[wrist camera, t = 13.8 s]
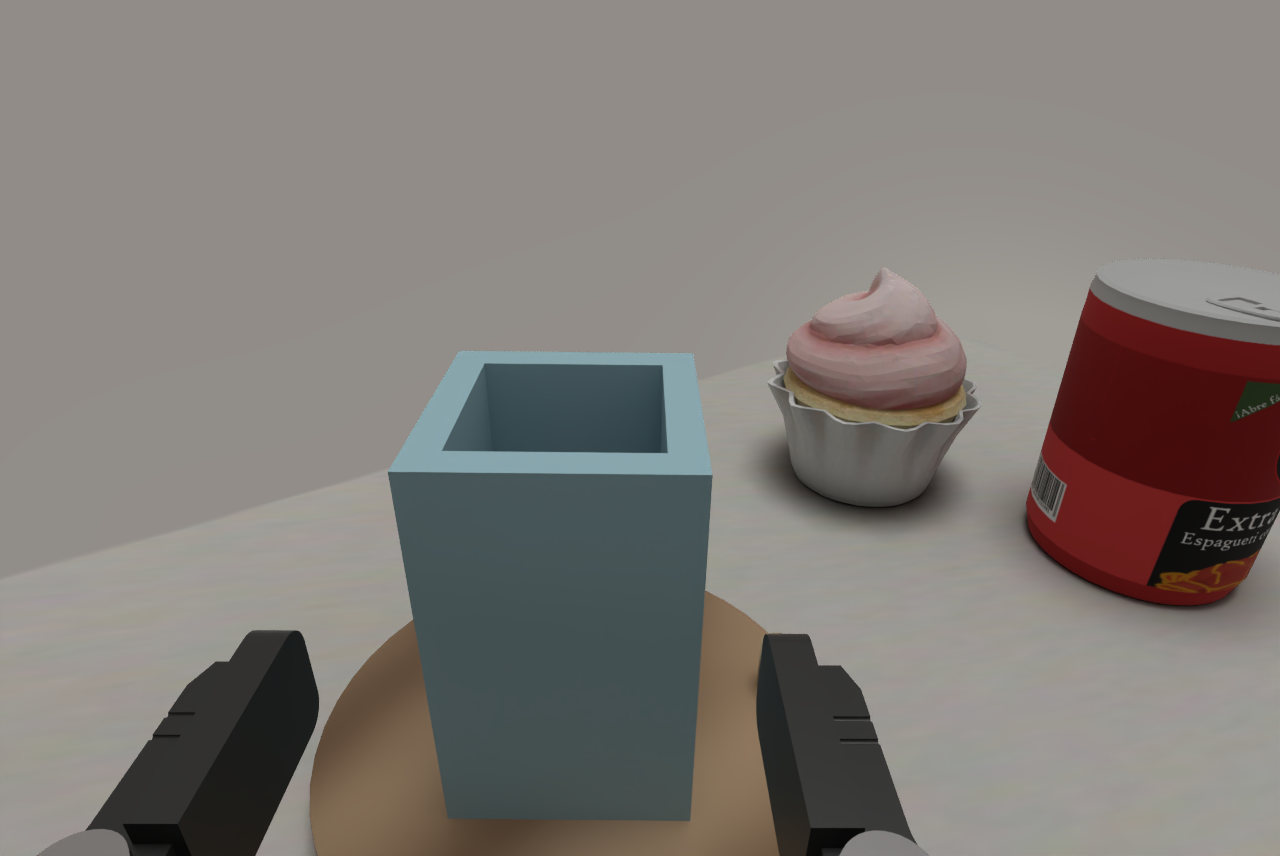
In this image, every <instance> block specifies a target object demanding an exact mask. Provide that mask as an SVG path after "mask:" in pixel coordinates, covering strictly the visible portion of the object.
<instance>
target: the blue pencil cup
mask: <svg viewBox="0 0 1280 856" xmlns="http://www.w3.org/2000/svg"><path fill="white" fill-rule="evenodd" d="M388 475H389V481H390V487H391V492H392V498H393V504H394V510H395V516H396V521H397V527H398V533H399V539H400V545H401V550H402V556H403V562H404V568H405V573H406V579H407V585H408V591H409V597H410V602H411V608H412V614H413V620H414V626H415V631H416V637H417V643H418V649H419V654H420V660H421V666H422V672H423V678H424V683H425V689H426V695H427V701H428V707H429V712H430V718H431V724H432V730H433V736H434V741H435V747H436V753H437V759H438V764H439V770H440V776H441V782H442V788H443V793H444V799H445V805H446V811H447V817H448V819H542V820H646V821H690V817H691V802H692V786H693V770H694V755H695V739H696V723H697V708H698V692H699V677H700V661H701V645H702V630H703V614H704V598H705V583H706V567H707V551H708V536H709V520H710V504H711V489H712V470H711V463H710V457H709V451H708V444H707V438H706V432H705V425H704V419H703V413H702V407H701V400H700V394H699V388H698V381H697V376H696V369H695V363H694V357H693V353H603V352H602V353H601V352H506V351H505V352H504V351H502V352H501V351H459V352H458V354H457V356H456V357H455V359H454V361H453V362H452V364H451V366H450V368H449V369H448V371H447V373H446V374H445V376H444V378H443V379H442V381H441V383H440V384H439V386H438V388H437V390H436V391H435V393H434V395H433V396H432V398H431V400H430V401H429V403H428V405H427V406H426V408H425V410H424V412H423V413H422V415H421V417H420V418H419V420H418V422H417V424H416V425H415V427H414V428H413V430H412V432H411V434H410V435H409V437H408V439H407V440H406V442H405V444H404V446H403V447H402V449H401V451H400V452H399V454H398V456H397V457H396V459H395V461H394V462H393V464H392V466H391V467H390V469H389V471H388Z"/></svg>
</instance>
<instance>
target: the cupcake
mask: <svg viewBox="0 0 1280 856" xmlns="http://www.w3.org/2000/svg"><path fill="white" fill-rule="evenodd" d="M786 354H787V359H784V360H777V361H774V362H773V366H774V368H775V371H776V374H777V375H776V376H774V377H773V378H771V379H769V381H768V382H767V383H768V385H769V387H770V389H771V391H772V393H773V395H774V397H775V399H776V402H777V404H778V406H779V408H780V410H781V412H782V414H783V417H784V422H785V427H786V433H787V438H788V444H789V452H790V459H791V464H792V467H793V469H794V471H795V473H796V475H797V476H798V478H799V480H800V481H801V482H803V483H804V484H805V485H806V486H808V487H809V488H810V489H812V490H814V491H815V492H817V493H819V494H821V495H822V496H825V497H828V498H830V499H833V500H836V501H839V502H843V503H847V504H852V505H857V506H868V507H885V506H895V505H899V504H902V503H906V502H908V501H910V500H913V499H914V498H916V497H918V496H919V495H920V494H921V493H922V492H923V491H924V490H925V489H926V487H927V486H928V484H929V483H930V481H931V479H932V477H933V475H934V473H935V471H936V469H937V467H938V466H939V464H940V462H941V460H942V459H943V457H944V455H945V454H946V452H947V451H948V449H949V447H950V446H951V444H952V442H953V441H954V439H955V437H956V436H957V435H958V433H959V432H960V431H961V430H962V429H963V427H964V426H965V425H966V424H967V423H968V421H969V420H970V419H971V418H972V417H973V415H974V414H975V413H976V412H977V410H978V409H979V408H980V407H981V406H982V404H981V400H979V399H978V398H976V397H975V396H974V395H972V394H973V392H974V391H975V389H976V388H977V383H975V382H973V381H971V380H969V379H967V378H964V377H965V372H966V356H965V353H964V350H963V348H962V345H961V343H960V340H959V338H958V337H957V336H956V335H955V333H954V332H953V331H952V329H951V328H950V327H949V326H948V325H947V324H946V323H945V322H944V321H943V320H941V319H940V318H939V317H937V316H936V315H935V312H934V310H933V309H932V307H931V305H930V303H929V302H928V300H927V299H926V297H925V296H924V295H923V294H922V293H921V292H920V291H919V290H918V289H917V288H916V287H915V286H914V285H912V284H910V283H909V282H907V281H906V280H904V279H903V278H901V277H899V276H898V275H896V274H894V273H892V272H891V271H890V270H888V269H887V268H881V270H880V271H879V272H878V274H877V275H876V277H875V278H874V280H873V282H872V284H871V287H870V289H869V291H864V292H859V293H853V294H849V295H845V296H843V297H840V298H839V299H836V300H834V301H833V302H831V303H829V304H828V305H826V306H824V307H822V308H821V309H819V310H818V311H817V312H816V314H815V315H814V316H813V318H812V320H811V321H810V322H808V323H806V324H804V325H802V326H801V327H799V328H798V329H797V330H796V331H795V332H793V334H792V335H791V336H790V338H789V341H788V345H787V352H786Z"/></svg>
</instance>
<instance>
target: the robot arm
mask: <svg viewBox="0 0 1280 856" xmlns="http://www.w3.org/2000/svg"><path fill="white" fill-rule="evenodd" d="M318 711H319V694H318V690H317V686H316V682H315V679H314V675H313V671H312V667H311V663H310V660H309V656H308V652H307V648H306V645H305V641H304V638H303V636H302V634H301V633H300V632H299V631H281V630H254V631H251V632H250V633H248V634H247V635H246V637H245V638H244V639H243V641H242V642H241V644H240V645H239V647H238V648H237V650H236V651H235V653H234V655H233V656H232V658H231V659H230V661H229V662H215V663H214V664H212V665H211V666H210V667H209V668H208V669H206V670H205V671H204V672H203V673H201V674H200V675H199V676H198V677H197V678H195V679H194V680H193V681H192V682H190V683H189V684H188V685H187V686H186V688H185V689H184V691H183V692H182V693H181V695H180V696H179V698H178V699H177V701H176V702H175V703H174V705H173V706H172V708H171V709H170V711H169V712H168V717H167V718H164V719H163V721H162V722H161V724H160V725H159V726H158V728H157V729H156V731H155V732H154V734H153V738H152V740H149V741H148V742H147V744H146V745H145V746H144V748H143V749H142V751H141V752H140V754H139V755H138V757H137V758H136V759H135V761H134V762H133V764H132V765H131V767H130V768H129V769H128V771H127V772H126V774H125V775H124V777H123V778H122V779H121V781H120V782H119V784H118V785H117V787H116V788H115V790H114V791H113V792H112V794H111V795H110V797H109V798H108V800H107V801H106V802H105V804H104V805H103V807H102V808H101V810H100V811H99V812H98V814H97V815H96V817H95V818H94V820H93V821H92V823H91V824H90V825H89V826H88V828H87V829H86V830H85V831H83V832H80V833H76V834H73V835H71V836H69V837H66V838H64V839H62V840H60V841H58V842H56V843H54V844H53V845H51V846H49V847H48V848H46V849H45V850H43V851H42V852H41V853H39V854H38V855H37V856H255V855H256V853H257V851H258V849H259V847H260V844H261V842H262V840H263V838H264V836H265V834H266V832H267V829H268V827H269V825H270V823H271V821H272V819H273V817H274V815H275V812H276V810H277V808H278V806H279V804H280V802H281V800H282V797H283V795H284V793H285V791H286V789H287V787H288V785H289V782H290V780H291V778H292V776H293V774H294V772H295V770H296V767H297V765H298V763H299V761H300V759H301V757H302V755H303V753H304V750H305V748H306V746H307V744H308V742H309V740H310V738H311V735H312V733H313V731H314V728H315V725H316V722H317V717H318ZM756 718H757V729H758V736H759V742H760V748H761V753H762V759H763V765H764V770H765V776H766V782H767V788H768V793H769V799H770V805H771V810H772V816H773V822H774V827H775V833H776V839H777V845H778V850H779V856H929V855H928V854H927V853H926V852H925V851H924V850H923V849H922V848H920V847H919V846H918V845H917V843H916V842H915V840H914V838H913V836H912V834H911V832H910V830H909V827H908V824H907V821H906V818H905V816H904V813H903V810H902V807H901V804H900V801H899V798H898V795H897V792H896V790H895V787H894V784H893V781H892V778H891V775H890V772H889V769H888V766H887V764H886V761H885V758H884V755H883V752H882V749H881V746H880V745H879V744H878V738H877V735H876V732H875V729H874V726H873V723H872V722H871V721H870V714H869V712H868V709H867V706H866V703H865V700H864V697H863V694H862V691H861V689H860V688H859V687H858V685H857V684H856V683H855V682H854V681H853V680H852V678H851V677H850V676H849V675H848V674H847V673H846V671H845V670H844V669H843V668H842V667H841V666H818V663H817V660H816V656H815V653H814V649H813V646H812V643H811V640H810V637H809V636H808V635H807V634H765V635H764V638H763V644H762V653H761V661H760V670H759V679H758V688H757V697H756Z"/></svg>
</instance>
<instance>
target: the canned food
mask: <svg viewBox="0 0 1280 856" xmlns="http://www.w3.org/2000/svg"><path fill="white" fill-rule="evenodd" d="M1026 507H1027V520H1028V526H1029V530H1030V532H1031V533H1032V535H1033V537H1034V539H1035V540H1036V541H1037V543H1038V544H1039V545H1040V546H1041V547H1042V549H1043V550H1044V551H1046V552H1047V553H1048V554H1049V555H1050V556H1051V557H1052V558H1054V559H1055V560H1056V561H1057V562H1058V563H1060V564H1061V565H1063V566H1064V567H1066V568H1067V569H1069V570H1070V571H1072V572H1073V573H1075V574H1077V575H1079V576H1081V577H1082V578H1084V579H1086V580H1088V581H1090V582H1092V583H1094V584H1097V585H1099V586H1101V587H1104V588H1106V589H1108V590H1111V591H1114V592H1117V593H1120V594H1123V595H1126V596H1129V597H1132V598H1136V599H1140V600H1145V601H1149V602H1153V603H1161V604H1169V605H1200V604H1207V603H1212V602H1214V601H1217V600H1219V599H1222V598H1224V597H1225V596H1226V595H1227V594H1228V593H1229V592H1231V591H1232V590H1233V589H1234V588H1235V587H1236V586H1238V585H1239V584H1240V583H1241V582H1242V581H1243V580H1244V579H1245V578H1246V577H1247V575H1248V573H1249V571H1250V569H1251V567H1252V565H1253V563H1254V561H1255V559H1256V557H1257V555H1258V553H1259V551H1260V549H1261V547H1262V545H1263V543H1264V541H1265V539H1266V537H1267V535H1268V533H1269V531H1270V529H1271V527H1272V525H1273V523H1274V521H1275V519H1276V517H1277V515H1278V513H1279V511H1280V275H1278V274H1274V273H1269V272H1264V271H1259V270H1254V269H1249V268H1242V267H1236V266H1230V265H1223V264H1215V263H1208V262H1198V261H1187V260H1173V259H1132V260H1124V261H1117V262H1112V263H1110V264H1106V265H1103V266H1101V267H1100V268H1098V269H1097V272H1096V276H1095V278H1094V280H1093V281H1092V283H1091V286H1090V289H1089V292H1088V296H1087V299H1086V302H1085V305H1084V308H1083V310H1082V313H1081V317H1080V320H1079V324H1078V327H1077V331H1076V334H1075V337H1074V341H1073V344H1072V348H1071V351H1070V355H1069V358H1068V362H1067V365H1066V368H1065V371H1064V375H1063V378H1062V382H1061V385H1060V388H1059V392H1058V395H1057V399H1056V402H1055V405H1054V409H1053V412H1052V416H1051V419H1050V423H1049V426H1048V429H1047V433H1046V436H1045V440H1044V443H1043V446H1042V450H1041V453H1040V457H1039V460H1038V463H1037V467H1036V470H1035V474H1034V477H1033V481H1032V484H1031V487H1030V491H1029V494H1028V498H1027V501H1026Z"/></svg>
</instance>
